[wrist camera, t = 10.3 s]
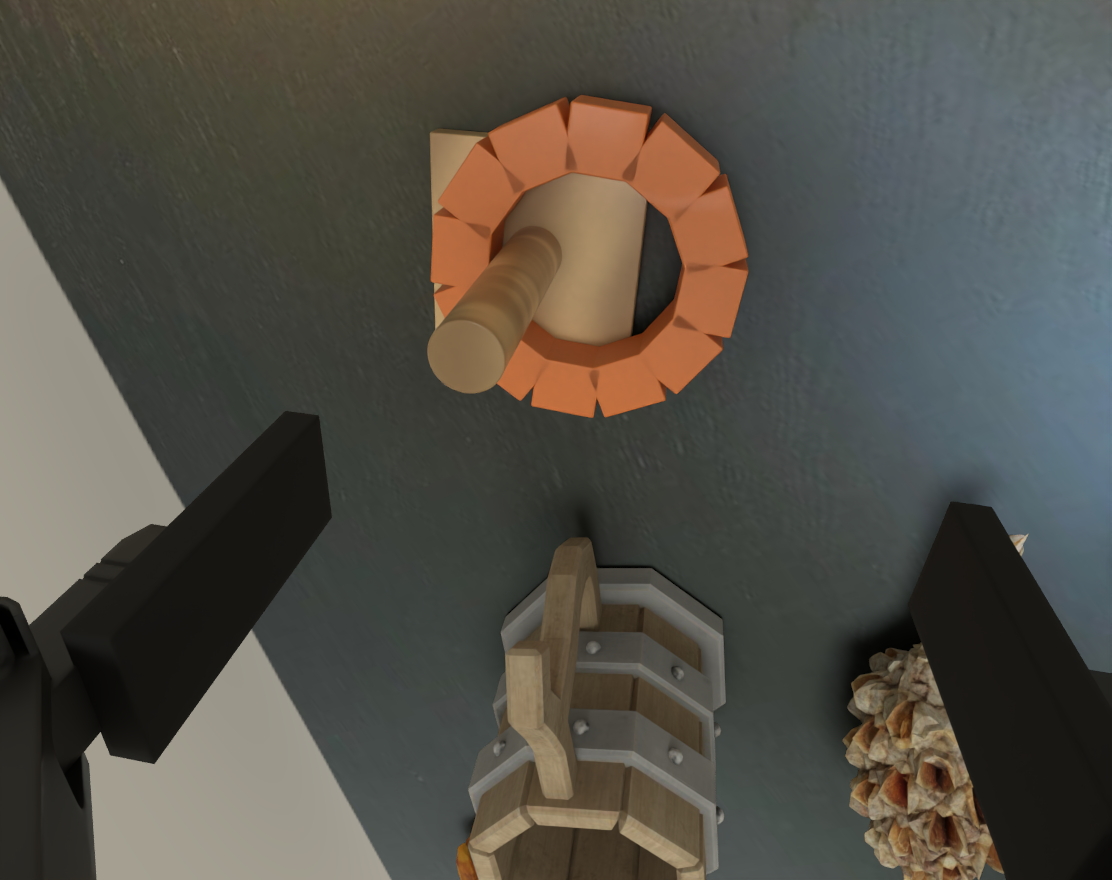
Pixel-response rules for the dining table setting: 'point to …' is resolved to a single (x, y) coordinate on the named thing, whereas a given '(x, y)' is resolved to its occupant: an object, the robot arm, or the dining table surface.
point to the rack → (540, 270)
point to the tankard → (602, 731)
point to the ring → (656, 174)
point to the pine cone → (914, 772)
